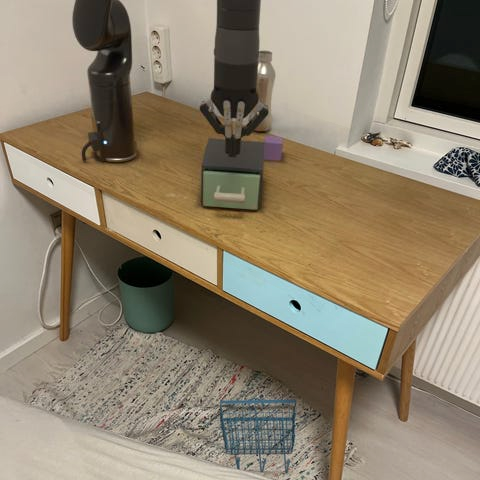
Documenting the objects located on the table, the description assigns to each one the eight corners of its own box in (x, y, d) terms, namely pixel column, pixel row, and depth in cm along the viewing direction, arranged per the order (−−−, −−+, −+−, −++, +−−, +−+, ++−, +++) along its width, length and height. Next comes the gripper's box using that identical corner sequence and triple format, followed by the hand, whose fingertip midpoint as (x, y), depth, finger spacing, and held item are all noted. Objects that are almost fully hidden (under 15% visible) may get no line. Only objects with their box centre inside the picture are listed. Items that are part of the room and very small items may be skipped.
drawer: (256, 221, 102) (259, 188, 97) (200, 217, 102) (200, 184, 97) (258, 181, 116) (261, 150, 111) (209, 177, 116) (209, 146, 111)
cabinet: (259, 210, 108) (263, 169, 102) (201, 205, 108) (201, 165, 102) (261, 180, 119) (264, 142, 113) (208, 176, 119) (208, 137, 113)
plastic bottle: (269, 135, 140) (276, 56, 127) (245, 132, 141) (250, 53, 128) (272, 127, 145) (279, 50, 132) (249, 124, 146) (254, 48, 133)
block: (280, 161, 128) (282, 143, 125) (263, 159, 128) (264, 142, 125) (280, 154, 131) (282, 136, 128) (263, 152, 131) (264, 135, 128)
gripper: (275, 53, 88) (267, 150, 99) (200, 48, 88) (200, 145, 99) (275, 64, 82) (266, 166, 93) (194, 59, 82) (195, 161, 94)
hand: (232, 155), depth 96 cm, fingers closed
